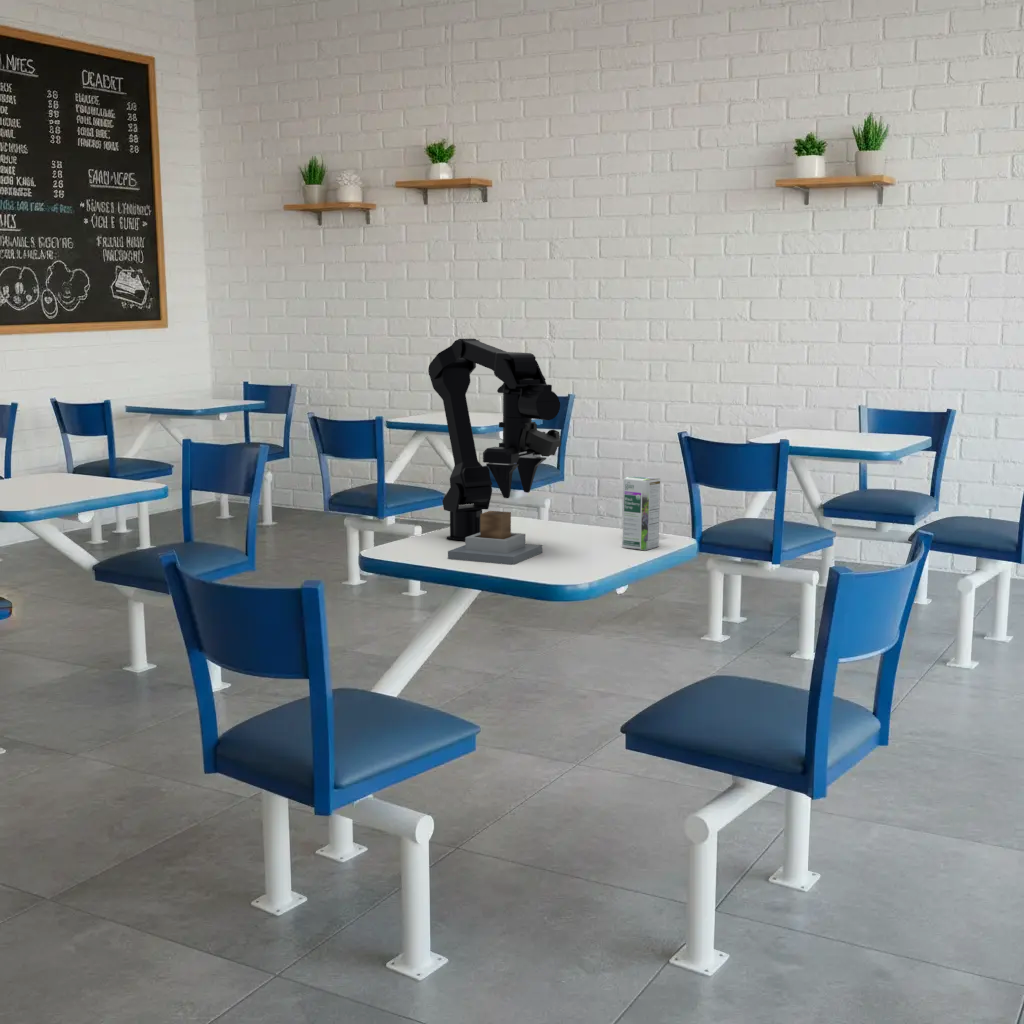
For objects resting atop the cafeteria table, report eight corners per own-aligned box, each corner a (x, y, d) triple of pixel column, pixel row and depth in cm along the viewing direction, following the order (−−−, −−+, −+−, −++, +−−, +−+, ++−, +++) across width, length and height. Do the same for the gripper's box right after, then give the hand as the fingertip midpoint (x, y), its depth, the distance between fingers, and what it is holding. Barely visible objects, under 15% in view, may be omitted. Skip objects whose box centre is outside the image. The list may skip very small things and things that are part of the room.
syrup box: (621, 547, 250) (622, 477, 247) (636, 543, 254) (637, 474, 252) (645, 551, 246) (646, 479, 244) (659, 546, 251) (661, 476, 249)
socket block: (447, 558, 237) (447, 538, 237) (479, 547, 250) (479, 527, 249) (513, 564, 232) (513, 543, 231) (542, 552, 244) (542, 532, 244)
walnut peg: (480, 549, 239) (480, 513, 238) (490, 545, 243) (490, 510, 242) (501, 550, 238) (501, 515, 237) (510, 547, 242) (510, 512, 241)
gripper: (533, 421, 229) (533, 504, 231) (573, 415, 246) (572, 492, 248) (481, 419, 234) (481, 500, 236) (523, 413, 250) (523, 488, 253)
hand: (516, 495), depth 243 cm, fingers open, 9 cm apart
